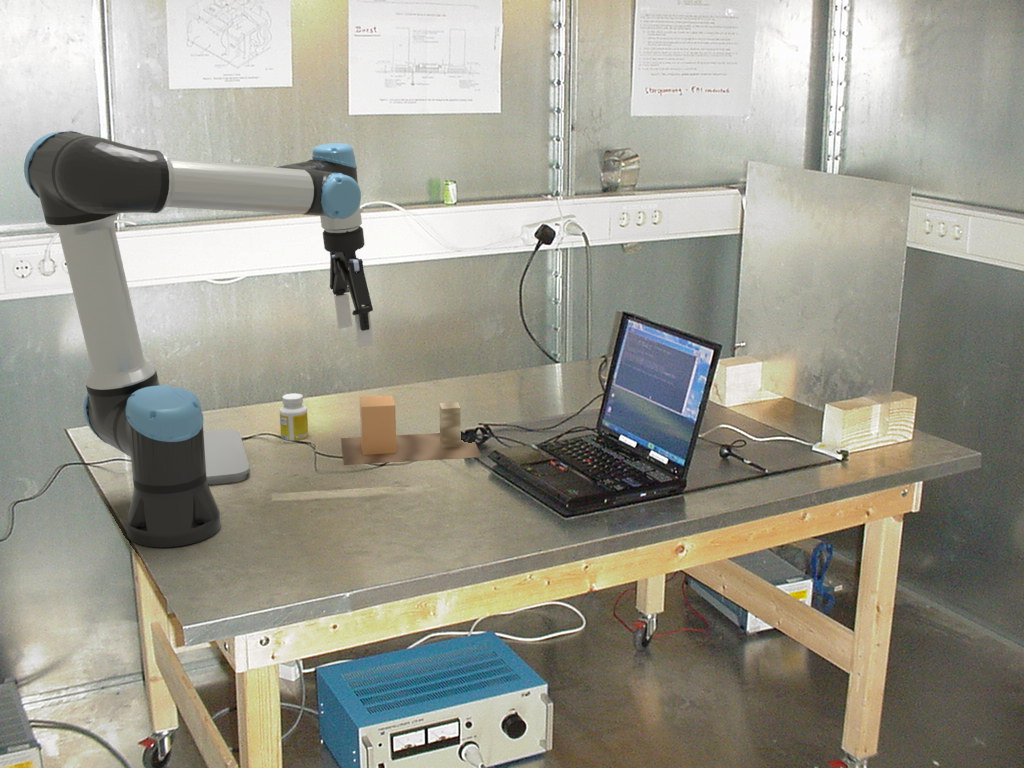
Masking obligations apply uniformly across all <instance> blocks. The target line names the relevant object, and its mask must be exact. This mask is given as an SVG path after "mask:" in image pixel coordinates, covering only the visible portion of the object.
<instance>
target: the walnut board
mask: <svg viewBox="0 0 1024 768" xmlns="http://www.w3.org/2000/svg"><path fill="white" fill-rule="evenodd" d="M340 444H341V445H340V446H341V451H342V458H343V459H342V460H343V466H349V465H350V466H351V465H353V466H354V465H366V464H370V465H371V464H384V463H386V464H387V463H404V462H419V461H420V462H421V461H437V460H440V461H442V460H458V459H470V458H471V459H473V458H474V459H475V458H477V459H478V458H482V454H481V453H480V449H479V448H478V445H477V443H476V441H475V442H472V443H468V442H464V441H463V440H461V447H451V448H442V446H441V443H440V432H435V433H415V434H398V435H397V434H396V453H387V454H369V455H363V452H362V446H361V436H360V437H359V436H358V437H356V436H355V437H342V438H340Z"/></svg>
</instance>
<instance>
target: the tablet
mask: <svg viewBox="0 0 1024 768" xmlns="http://www.w3.org/2000/svg"><path fill="white" fill-rule="evenodd" d="M203 432H204V447H205V462H206V478H207V484H209V485H208V486H211V484H212V485H219V484H218V483H222V484H228V483H230V482H232V483H238V482H241V481H242V482H243V480H245V479H246V478H247V474H249V472H251V469H250V463H249V460H248V456H247V453H246V449H245V446H244V444H243V440H242V436H241V432H240V431H238V430H236V429H230V428H223V429H222V428H220V429H212V430H211V429H210V430H203Z"/></svg>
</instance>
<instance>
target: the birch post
mask: <svg viewBox="0 0 1024 768" xmlns="http://www.w3.org/2000/svg"><path fill="white" fill-rule="evenodd" d="M461 430H462V429H461V407H460V404H459V402H457V401H455V402H439V433H440V443H441V446H442V448H451V447H461V432H462V431H461Z"/></svg>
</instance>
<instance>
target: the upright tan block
mask: <svg viewBox="0 0 1024 768" xmlns="http://www.w3.org/2000/svg"><path fill="white" fill-rule="evenodd" d="M393 396H394V395H392V394H391V395H373V396H372V395H371V396H359V417H360V418H359V420H360V421H359V423H360V424H359V426H360V437H361V446H362V452H363V455H369V454H387V453H396V435H397V425H396V424H397V422H396V421H397V419H396V403H395V399H394V397H393Z"/></svg>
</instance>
